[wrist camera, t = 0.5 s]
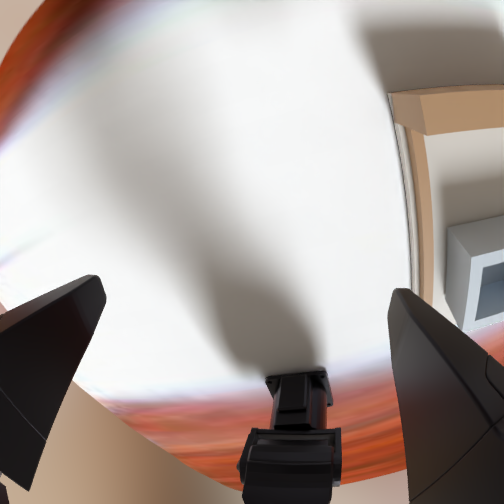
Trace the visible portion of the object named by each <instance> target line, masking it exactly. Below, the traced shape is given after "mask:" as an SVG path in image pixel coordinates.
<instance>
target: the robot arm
mask: <svg viewBox="0 0 504 504" xmlns="http://www.w3.org/2000/svg"><path fill="white" fill-rule="evenodd" d="M105 304H106V294H105V291H104V288H103V285H102V282H101V279H100V278H99V276H97V275H86V276H83V277H81V278H79V279H76V280H74V281H72V282H70V283H68V284H65V285H63V286H61V287H59V288H56V289H54V290H52V291H50V292H48V293H46V294H43V295H41V296H39V297H37V298H35V299H33V300H31V301H28V302H26V303H24V304H22V305H20V306H18V307H16V308H14V309H12V310H10V311H7V312H6V313H4V314H1V315H0V477H1V475H2V473H3V474H4V475H6V476H7V477H8V478H10V479H11V480H13V481H14V482H15V483H17V484H18V485H19V486H21V487H22V488H24V489H25V490H27V491H29V490H30V488H31V485H32V482H33V478H34V476H35V473H36V469H37V467H38V464H39V461H40V457H41V455H42V452H43V449H44V447H45V444H46V440H47V438H48V435H49V433H50V430H51V428H52V425H53V423H54V420H55V418H56V415H57V413H58V411H59V408H60V406H61V403H62V401H63V399H64V396H65V394H66V392H67V390H68V387H69V385H70V383H71V381H72V379H73V376H74V374H75V372H76V370H77V368H78V366H79V364H80V362H81V359H82V357H83V355H84V353H85V351H86V349H87V347H88V345H89V343H90V341H91V339H92V336H93V334H94V331H95V329H96V326H97V324H98V321H99V319H100V316H101V314H102V311H103V309H104V307H105ZM388 329H389V338H390V349H391V361H392V369H393V375H394V380H395V386H396V391H397V397H398V403H399V409H400V416H401V423H402V430H403V438H404V446H405V455H406V465H407V476H408V490H409V501H410V503H409V504H504V366H502V365H501V364H500V363H499V362H498V361H497V360H495V359H494V358H493V357H492V356H491V355H488V353H487V352H486V351H485V350H484V349H483V348H481V347H480V346H479V345H478V344H477V343H476V342H474V341H473V340H472V339H471V338H470V337H468V336H467V335H466V334H465V333H464V332H462V331H461V330H460V329H459V328H458V327H456V326H455V325H454V324H453V323H451V322H450V321H449V320H448V319H447V318H445V317H444V316H443V315H442V314H440V313H439V312H438V311H437V310H435V309H434V308H433V307H432V306H430V305H429V304H428V303H426V302H425V301H424V300H423V299H421V298H420V297H419V296H417V295H416V294H415V293H414V292H412V291H411V290H410V289H408V288H396V289H394V291H393V293H392V297H391V302H390V306H389V310H388ZM265 383H266V385H267V387H268V389H269V391H270V393H271V395H272V397H273V400H274V402H273V409H272V415H271V422H270V429H258V428H252V429H251V432H250V434H249V435H248V438H247V441H246V444H245V447H244V450H243V453H242V455H241V458H240V460H239V461H238V463H237V470H238V471H239V472H240V479H241V483H242V484H244V488H243V494H242V498H243V501H244V503H245V504H330V501H331V497H332V487H339V486H340V481H341V468H342V449H341V428H335V429H326V427H327V407H330V406H332V405H333V398H332V393H331V389H330V384H329V380H328V376H327V373H326V372H325V371H318V372H310V373H302V374H292V375H282V376H271V377H267V378H266V380H265ZM0 504H9V500H8V496H7V491H6V486H4V485H3V484H2V483H1V482H0Z"/></svg>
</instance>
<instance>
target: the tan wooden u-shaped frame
mask: <svg viewBox="0 0 504 504" xmlns="http://www.w3.org/2000/svg"><path fill="white" fill-rule="evenodd" d="M387 95H388V99H389V103H390V107H391V112H392V116H393V121H394V125H395V130H396V135H397V140H398V146H399V151H400V157H401V163H402V170H403V177H404V184H405V191H406V200H407V209H408V219H409V231H410V245H411V265H412V292H414V293H415V294H416V295H417V296H419V297H420V298H421V299H423V300H424V301H425V302H426V303H428V304H429V305H430V306H432V307H433V308H434V309H435V310H437V311H438V312H439V313H440V314H442V315H443V316H444V317H445V318H447V319H448V320H449V321H450V322H451V323H453V324H454V325H456V324H457V323H456V321H455V319H454V317H453V315H452V313H451V310H450V308H449V306H448V304H447V302H446V300H445V292H446V276H447V227H452V226H457V225H462V224H466V223H471V222H475V221H480V220H485V219H489V218H494V217H498V216H503V215H504V84H488V85H462V86H447V87H435V88H425V89H415V90H407V91H399V92H392V93H387Z"/></svg>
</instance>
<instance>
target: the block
mask: <svg viewBox="0 0 504 504" xmlns="http://www.w3.org/2000/svg"><path fill="white" fill-rule="evenodd" d="M445 300H446V302H447V304H448V306H449V308H450V310H451V313H452V315H453V317H454V319H455V321H456V323H457V325H458V327H459V329H460V330H461V331H462V332H464V333H467V332H470V331H474V330H477V329H480V328H483V327H487V326H490V325H493V324H496V323H499V322H502V321H504V215H503V216H498V217H494V218H489V219H485V220H480V221H475V222H471V223H466V224H462V225H457V226H452V227H447V276H446V292H445Z"/></svg>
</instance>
